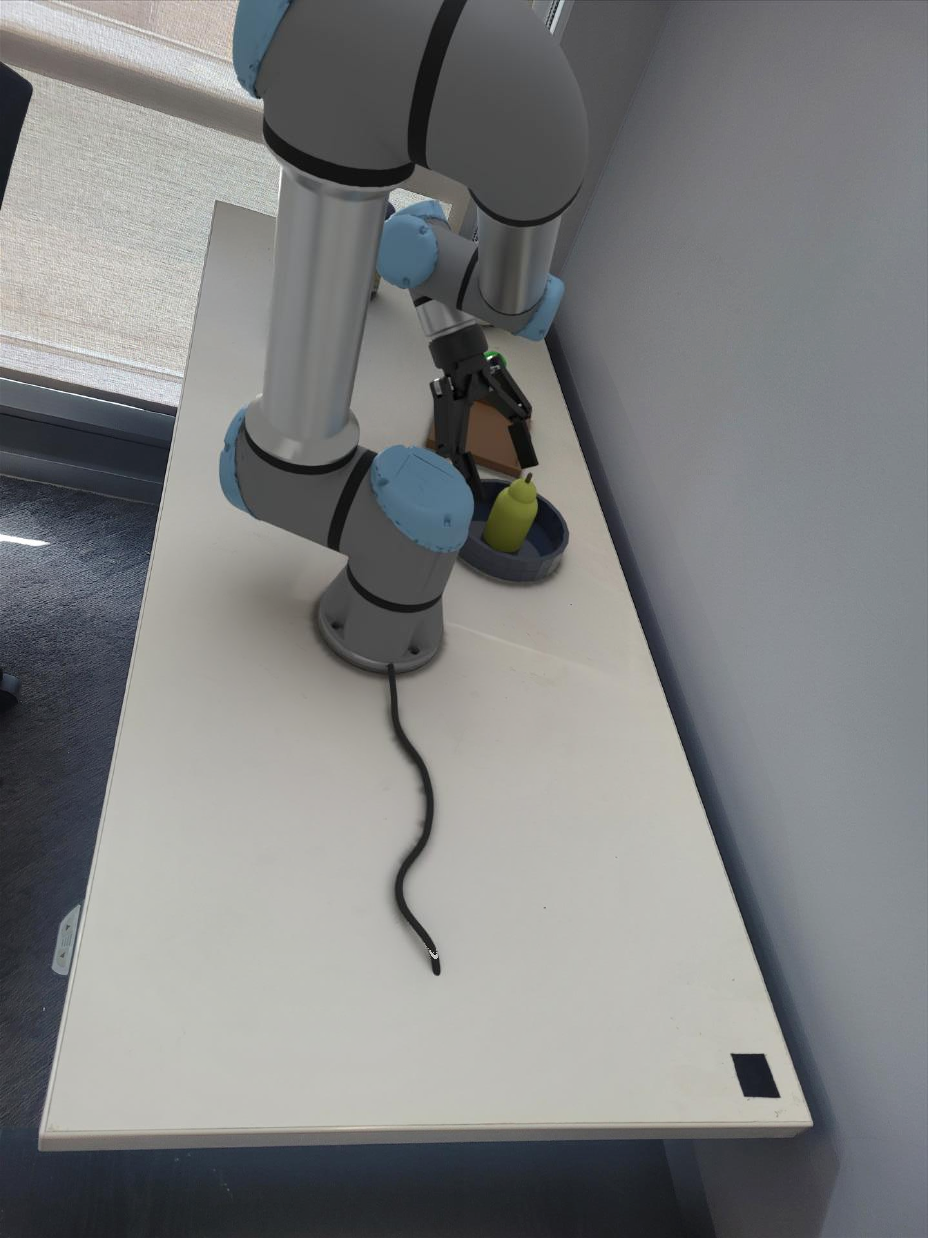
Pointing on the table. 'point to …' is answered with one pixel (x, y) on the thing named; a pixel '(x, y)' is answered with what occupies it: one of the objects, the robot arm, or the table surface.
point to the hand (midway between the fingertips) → (505, 483)
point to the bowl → (536, 550)
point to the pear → (512, 515)
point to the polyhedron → (494, 354)
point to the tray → (489, 439)
